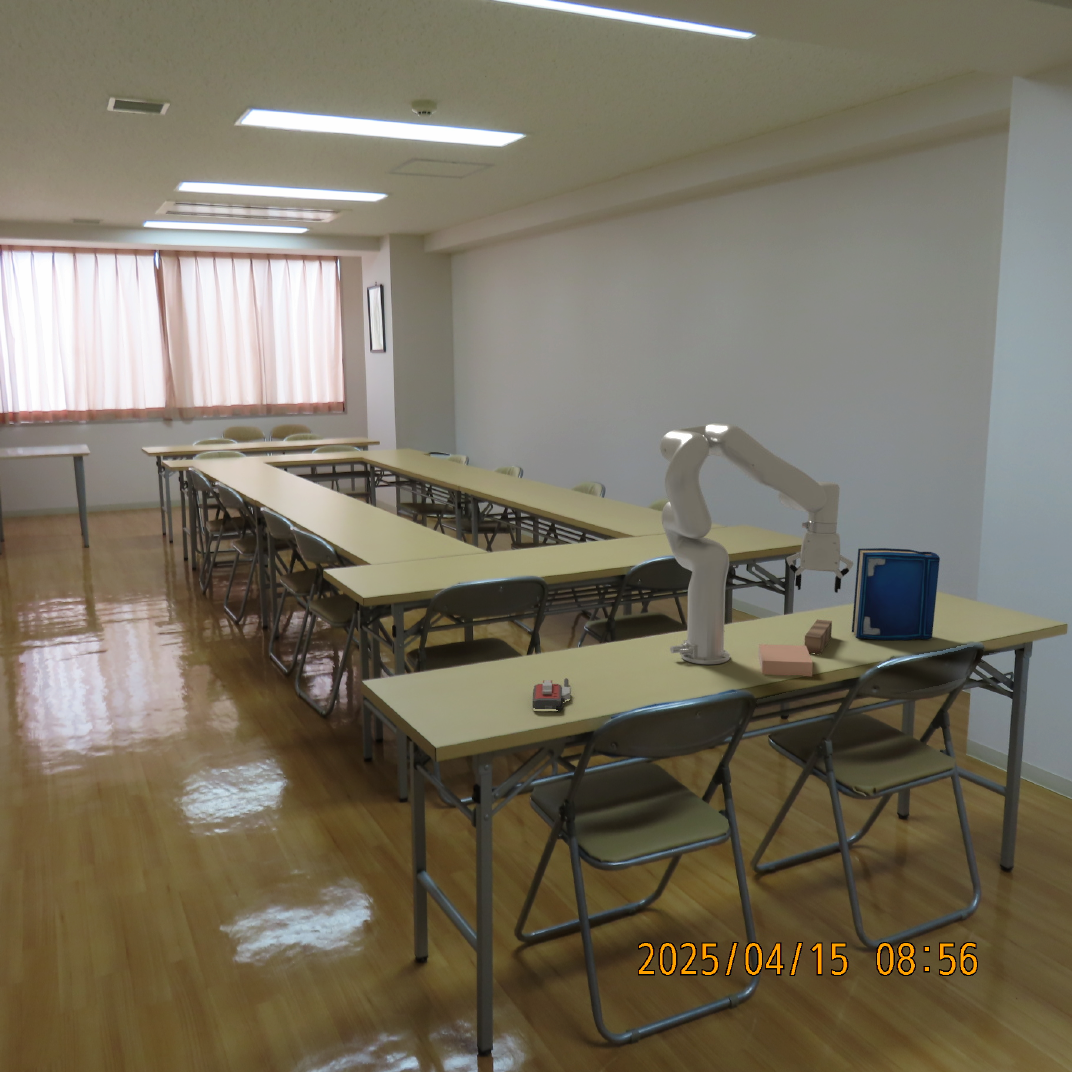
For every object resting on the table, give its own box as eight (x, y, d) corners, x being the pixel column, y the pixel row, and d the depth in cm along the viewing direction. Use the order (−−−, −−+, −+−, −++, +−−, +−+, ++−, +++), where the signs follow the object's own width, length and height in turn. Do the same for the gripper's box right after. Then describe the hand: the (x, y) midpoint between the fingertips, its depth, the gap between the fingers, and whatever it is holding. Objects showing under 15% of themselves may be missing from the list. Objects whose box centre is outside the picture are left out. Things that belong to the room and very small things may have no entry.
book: (929, 634, 262) (934, 547, 258) (937, 641, 255) (943, 552, 251) (850, 633, 264) (854, 547, 260) (856, 640, 257) (861, 552, 253)
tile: (805, 660, 242) (812, 678, 228) (758, 658, 244) (762, 676, 230) (805, 645, 241) (812, 662, 228) (758, 644, 243) (762, 660, 230)
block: (819, 655, 245) (820, 637, 244) (804, 653, 247) (804, 635, 246) (831, 638, 261) (831, 620, 260) (816, 636, 263) (817, 619, 262)
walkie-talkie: (571, 715, 206) (570, 684, 225) (570, 696, 205) (570, 667, 225) (531, 715, 206) (534, 685, 226) (531, 696, 205) (534, 667, 225)
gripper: (788, 528, 247) (784, 590, 249) (857, 532, 242) (851, 595, 245) (788, 524, 254) (784, 585, 257) (854, 527, 249) (849, 589, 252)
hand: (817, 590), depth 251 cm, fingers open, 9 cm apart
